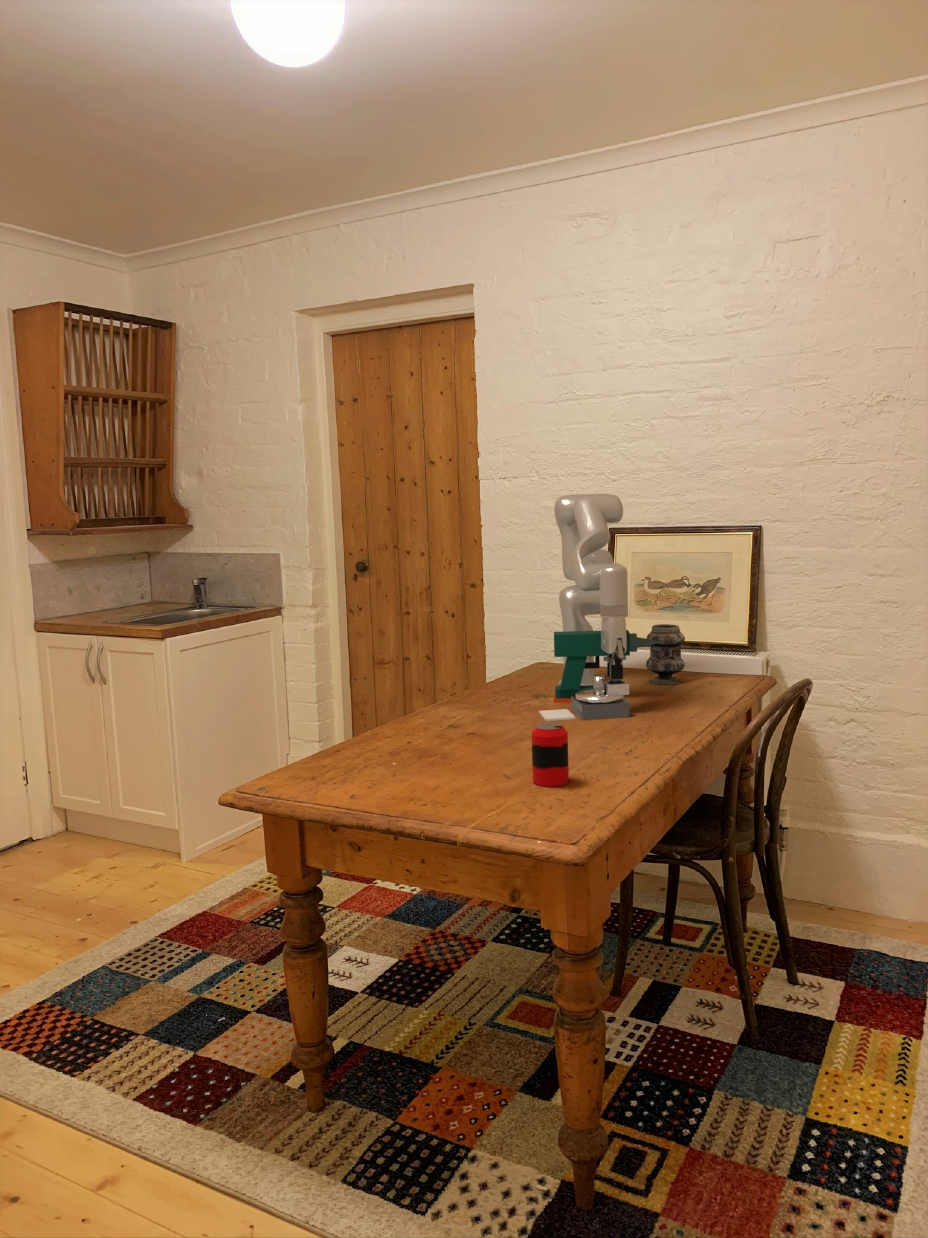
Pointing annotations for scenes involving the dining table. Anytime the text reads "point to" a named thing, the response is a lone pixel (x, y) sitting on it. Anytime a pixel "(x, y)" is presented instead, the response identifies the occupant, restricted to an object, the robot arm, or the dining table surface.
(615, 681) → the chuck key
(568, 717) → the key mat
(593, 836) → the dining table surface
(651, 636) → the apothecary jar
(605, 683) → the collar
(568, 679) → the power tool
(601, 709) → the stand
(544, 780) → the soda can
